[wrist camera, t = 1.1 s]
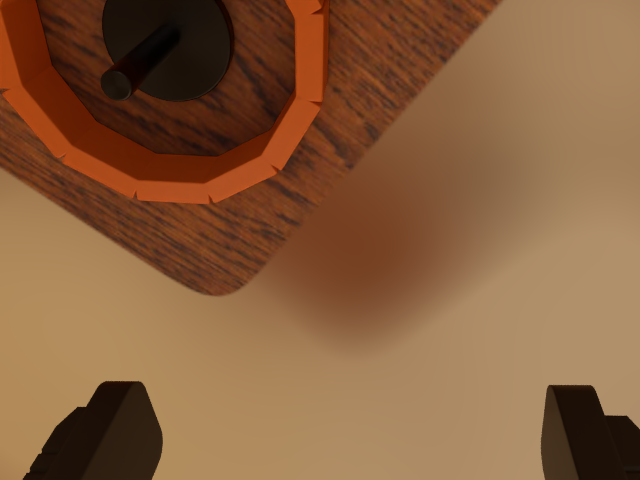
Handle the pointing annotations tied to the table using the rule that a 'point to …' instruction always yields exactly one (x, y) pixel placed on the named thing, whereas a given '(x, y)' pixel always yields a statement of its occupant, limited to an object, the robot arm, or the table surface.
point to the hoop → (133, 159)
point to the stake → (166, 47)
